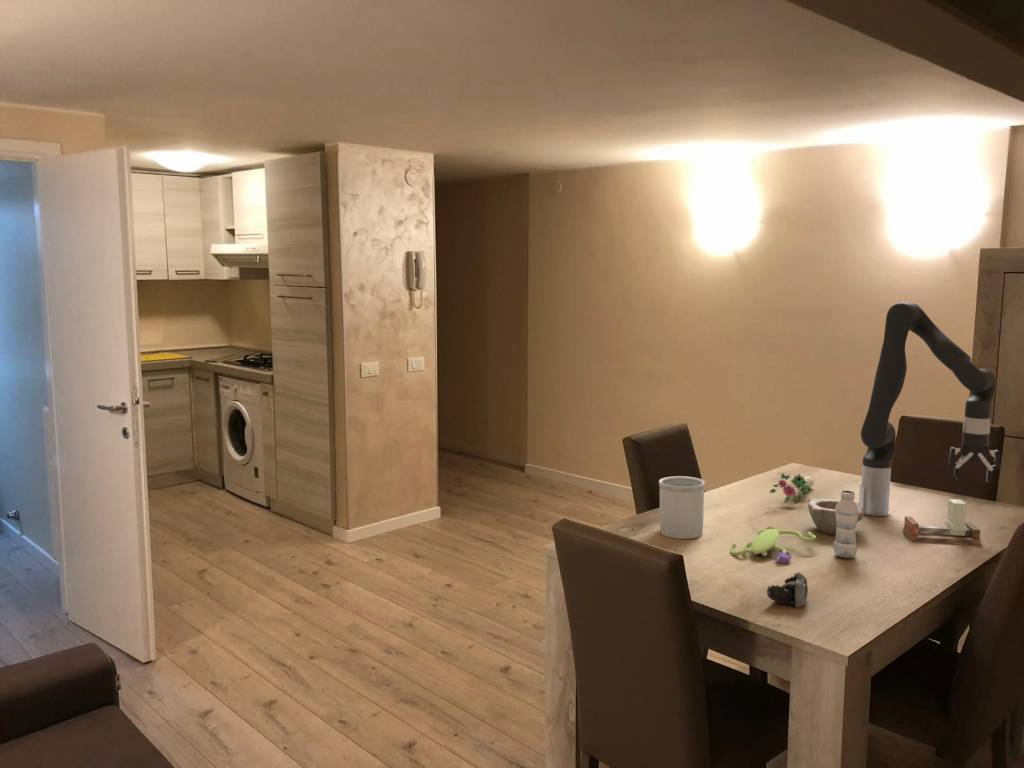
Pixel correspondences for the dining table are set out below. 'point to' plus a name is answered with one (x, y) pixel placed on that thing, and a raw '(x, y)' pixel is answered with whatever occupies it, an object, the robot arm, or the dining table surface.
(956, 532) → the slider
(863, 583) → the dining table surface
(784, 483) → the flower vase
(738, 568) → the dining table surface
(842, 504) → the plastic bottle
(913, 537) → the track
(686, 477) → the utensil holder
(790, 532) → the figurine
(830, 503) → the mortar
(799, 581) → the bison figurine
